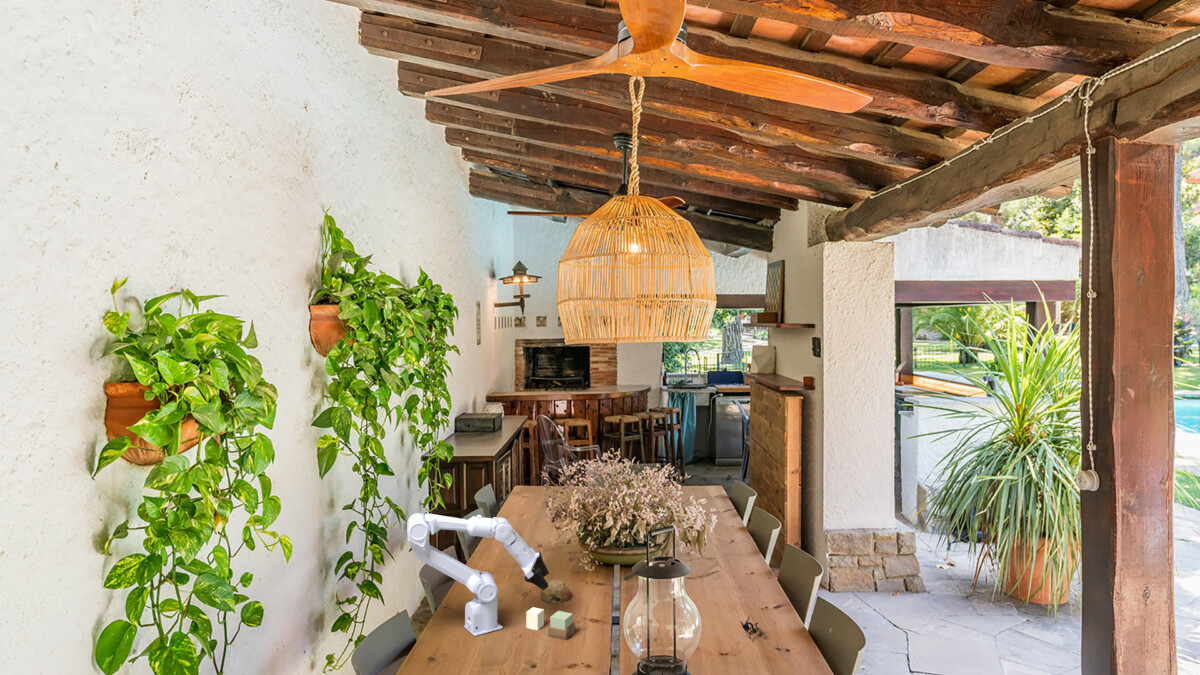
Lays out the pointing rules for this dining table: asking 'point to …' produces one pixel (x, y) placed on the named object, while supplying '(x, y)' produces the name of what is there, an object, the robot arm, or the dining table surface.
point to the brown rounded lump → (556, 592)
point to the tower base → (561, 632)
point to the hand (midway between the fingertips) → (546, 581)
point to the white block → (535, 618)
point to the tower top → (561, 620)
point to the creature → (746, 626)
